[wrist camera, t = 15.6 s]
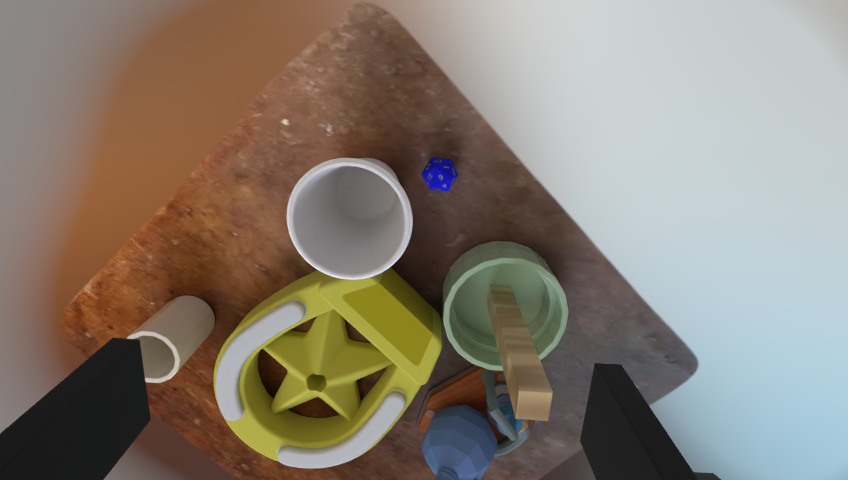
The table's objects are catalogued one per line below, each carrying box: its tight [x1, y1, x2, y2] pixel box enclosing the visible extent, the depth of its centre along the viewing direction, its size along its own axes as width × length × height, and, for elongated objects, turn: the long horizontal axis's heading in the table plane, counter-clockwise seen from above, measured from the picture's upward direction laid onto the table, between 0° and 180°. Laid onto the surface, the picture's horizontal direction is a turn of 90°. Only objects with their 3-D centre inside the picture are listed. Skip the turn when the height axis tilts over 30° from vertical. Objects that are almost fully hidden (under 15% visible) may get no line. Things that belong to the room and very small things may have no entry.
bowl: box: [442, 241, 568, 371], centre depth 43 cm, size 10×10×5 cm
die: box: [422, 158, 458, 191], centre depth 41 cm, size 3×3×3 cm
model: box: [416, 364, 534, 480], centre depth 45 cm, size 12×9×9 cm
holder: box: [127, 295, 215, 383], centre depth 43 cm, size 5×5×7 cm
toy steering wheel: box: [214, 267, 442, 468], centre depth 45 cm, size 16×21×5 cm
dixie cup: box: [287, 158, 413, 280], centre depth 38 cm, size 8×8×10 cm
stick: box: [487, 285, 553, 421], centre depth 37 cm, size 2×2×16 cm
